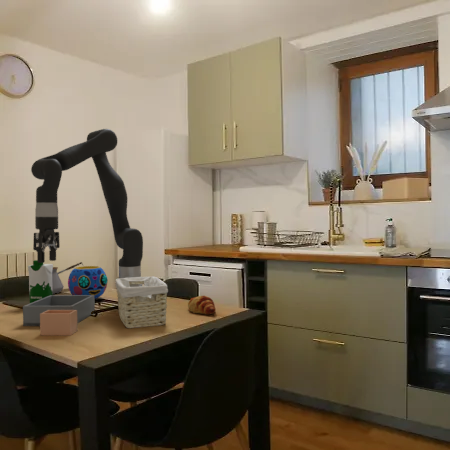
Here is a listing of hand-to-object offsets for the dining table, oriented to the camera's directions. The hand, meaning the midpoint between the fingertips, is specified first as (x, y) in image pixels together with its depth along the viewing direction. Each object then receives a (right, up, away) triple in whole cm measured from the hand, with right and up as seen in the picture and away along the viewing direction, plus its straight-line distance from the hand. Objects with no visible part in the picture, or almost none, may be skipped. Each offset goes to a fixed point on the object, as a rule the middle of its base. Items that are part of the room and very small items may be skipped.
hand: (47, 261), depth 159 cm
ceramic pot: (-1, -22, +50) cm, 54 cm away
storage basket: (+32, -23, +7) cm, 40 cm away
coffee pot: (-20, -22, +71) cm, 77 cm away
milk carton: (-16, -22, +36) cm, 45 cm away
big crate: (+1, -22, +10) cm, 25 cm away
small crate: (+8, -23, -10) cm, 26 cm away
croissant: (+54, -22, +21) cm, 62 cm away
